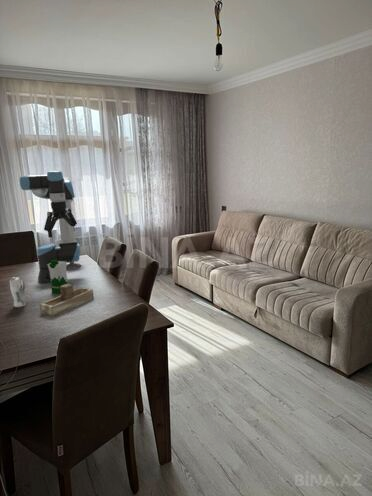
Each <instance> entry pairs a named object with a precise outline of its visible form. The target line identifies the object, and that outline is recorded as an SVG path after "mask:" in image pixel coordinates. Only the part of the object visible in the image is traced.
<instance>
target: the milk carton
mask: <svg viewBox="0 0 372 496" xmlns="http://www.w3.org/2000/svg"><path fill="white" fill-rule="evenodd" d="M67 264H68V263H67V262H63V261H58V260H51V263H50V264H47V265H48V268H49V271H50V278H51V283H50V285H51V294H54V295H61V290H60V286H62V285H65V284H69V282H68V274H67V268H66V265H67Z"/></svg>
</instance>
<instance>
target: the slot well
mask: <svg viewBox="0 0 372 496" xmlns="http://www.w3.org/2000/svg"><path fill="white" fill-rule="evenodd" d="M73 292H74V297H72V298H70V299H68V300H65V301H63V302H62V298H61V295H59V296H57V297H56V296H55V297H54V298H51V299H49V300H45V301H44V302H42V303H39V308H40V313H41V315H46V316H49V317H56V316H59V315H61V314H63V313H65V312H67V311H69V310H71V309H73V308H75V307H78V306H79V305H82V304H84V303H87V302H88V301H90V299H91V300H92V299H95V296H94V289H91V288H86V287H81V286H80V287H78V288H75V289H73Z"/></svg>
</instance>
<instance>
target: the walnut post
mask: <svg viewBox="0 0 372 496" xmlns="http://www.w3.org/2000/svg"><path fill="white" fill-rule="evenodd" d="M60 290H61V294H60V296H61V298H62V302H63V301H65V300H68V299H70V298H72V297H74V292H73V290H74V285H73V284H70V283H68V284H65V285H62V286H60Z"/></svg>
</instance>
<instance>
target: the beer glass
mask: <svg viewBox="0 0 372 496" xmlns="http://www.w3.org/2000/svg"><path fill="white" fill-rule="evenodd" d="M25 286H26V285H25V281H24V277H23V276H15V277H12V278H9V288H10V292H11V295H12V298H13V307H14V308H23V307H25V306H26V305H27V300H26V298H25V294H26V287H25Z"/></svg>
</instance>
